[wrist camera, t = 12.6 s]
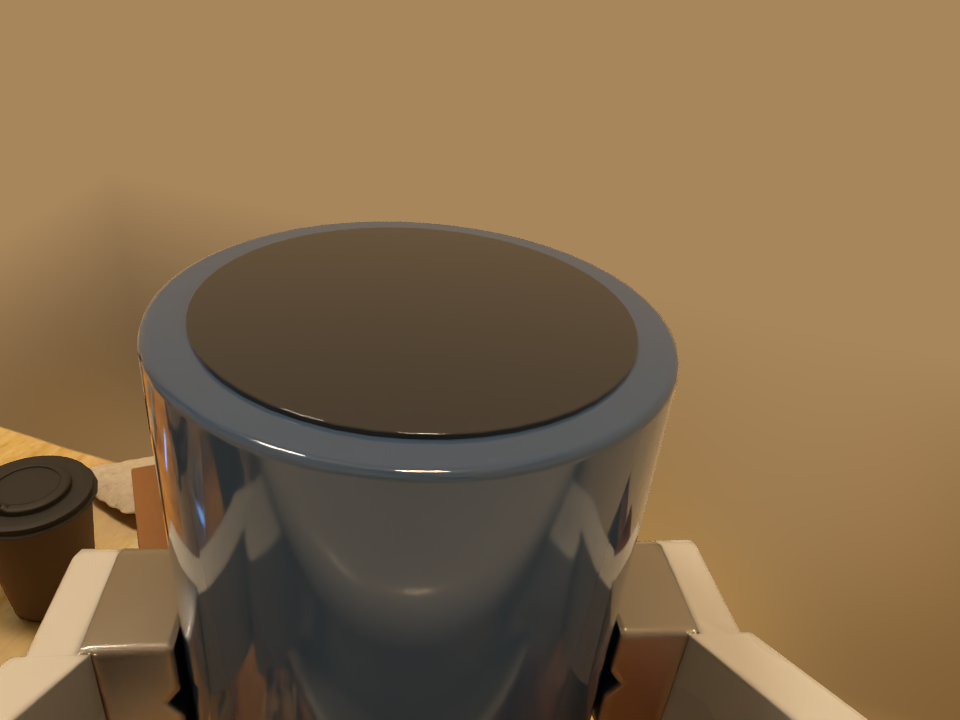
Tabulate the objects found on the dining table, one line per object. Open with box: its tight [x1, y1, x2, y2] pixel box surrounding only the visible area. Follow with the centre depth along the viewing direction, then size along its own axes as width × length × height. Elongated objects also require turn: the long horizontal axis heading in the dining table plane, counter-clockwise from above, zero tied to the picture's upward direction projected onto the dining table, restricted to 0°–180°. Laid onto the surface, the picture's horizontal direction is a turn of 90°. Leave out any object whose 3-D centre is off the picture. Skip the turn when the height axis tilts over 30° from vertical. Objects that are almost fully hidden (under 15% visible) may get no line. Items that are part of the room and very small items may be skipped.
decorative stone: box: [89, 456, 155, 514], centre depth 63 cm, size 8×12×3 cm
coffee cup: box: [0, 456, 98, 621], centre depth 52 cm, size 8×8×10 cm
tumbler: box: [137, 222, 679, 720], centre depth 10 cm, size 5×5×10 cm
